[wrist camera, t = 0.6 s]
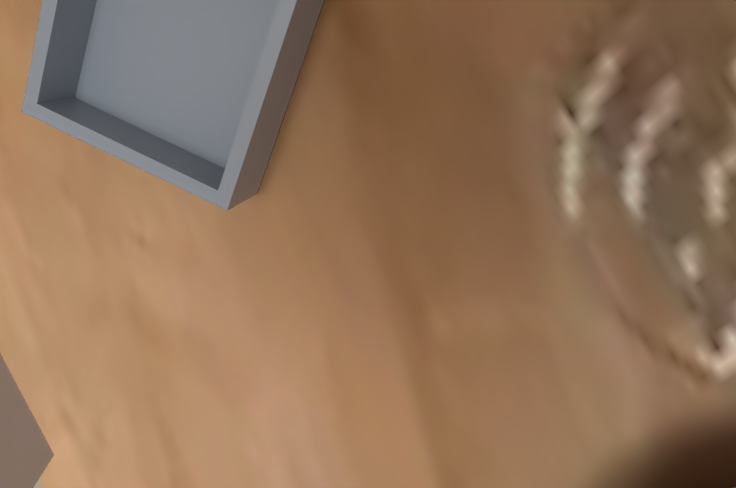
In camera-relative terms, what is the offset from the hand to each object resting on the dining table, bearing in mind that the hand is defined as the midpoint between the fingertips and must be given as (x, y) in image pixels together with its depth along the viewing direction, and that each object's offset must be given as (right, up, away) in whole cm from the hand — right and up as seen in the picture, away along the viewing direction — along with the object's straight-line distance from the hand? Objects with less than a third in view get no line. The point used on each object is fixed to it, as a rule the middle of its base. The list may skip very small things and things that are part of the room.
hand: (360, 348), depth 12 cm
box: (-10, +13, +26) cm, 30 cm away
